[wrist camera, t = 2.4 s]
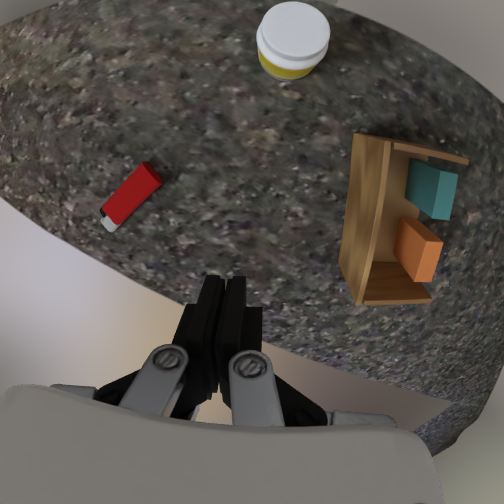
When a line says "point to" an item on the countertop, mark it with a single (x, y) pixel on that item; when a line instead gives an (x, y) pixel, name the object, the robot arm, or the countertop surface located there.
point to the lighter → (129, 196)
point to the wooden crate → (380, 219)
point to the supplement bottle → (292, 40)
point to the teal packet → (431, 188)
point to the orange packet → (417, 249)
